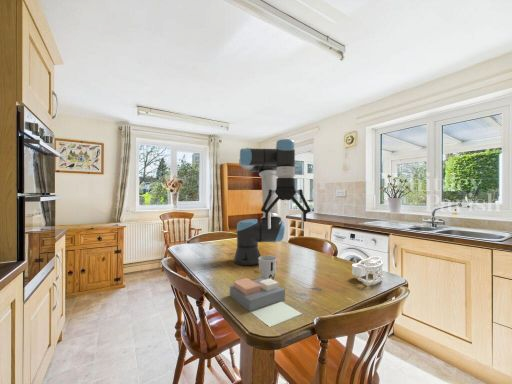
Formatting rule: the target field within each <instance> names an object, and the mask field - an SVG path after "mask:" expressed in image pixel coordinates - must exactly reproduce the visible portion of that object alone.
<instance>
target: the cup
mask: <svg viewBox="0 0 512 384" xmlns="http://www.w3.org/2000/svg"><path fill="white" fill-rule="evenodd" d="M258 259H259V263H258V269H259V270H258V271H259V275H260V278H264V279H265V280H266V279H269V278H270V279H272V280H274V281H275V277H276V272H277V271H276V270H277V260H278V259H277V257H276V256H274V255H260V257H259V258H258Z"/></svg>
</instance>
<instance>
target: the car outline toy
mask: <svg viewBox="0 0 512 384" xmlns="http://www.w3.org/2000/svg"><path fill="white" fill-rule="evenodd" d="M351 264H352V265H351V269H352V270H351V273H352V275H353V276H356V277H357V280H358V281H360V282H362V283H364V284H366V285H372V284H373V285H374V284H375V285H376V284H377V283H379V282H381V281H382V280H383V279H384V276H383V266H384V262H383V260H382V257H381V256H369V257H368V258H365V259H362V260H359V262H357V263H351ZM371 273H372V280H369V274H371ZM362 277H365V278H362Z"/></svg>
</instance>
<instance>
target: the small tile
mask: <svg viewBox="0 0 512 384" xmlns="http://www.w3.org/2000/svg"><path fill="white" fill-rule="evenodd" d="M259 285H260V287H261V288H263V289H265V290H266V291H270V290H273V289H276V288H278V286H279V281H276V280H275V279H274V280H272V279H270V278H269V279H266V280H262V281H259Z"/></svg>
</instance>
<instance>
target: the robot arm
mask: <svg viewBox="0 0 512 384" xmlns="http://www.w3.org/2000/svg"><path fill="white" fill-rule="evenodd" d="M295 150H296V146H295V141H294V140H293V139H291V138H282V139H279V140H276V146H275V148H249V147H246V148H240V150H239V160H238V162H239V166H240V167H241V169H242V170H245V171H247V172H250V173H251V172H252V173H258V175H259V177H260V178H261V192H262V193H261V194H262V196H261V197H262V206H261V209H260V211H261V212H262V214H263V215H262V217H261V218H260V221H259V220H258V219H257V218H248V219H243V220H239V221H238V222H237V223H236V251H235V253H234V256H233V263H235V265H236V264H237V265H240V266H254V265H259V259H258V258H259V257H260V256H261V254H260V250H259V246H258V243H277V242H278V243H280V242H282V241H283V240H284V236H285V231H286V229H285V228H286V225H285V221H284V220H282V218H281V216H280V215H279V209H278V208H279V207H278V201H280V200H281V201H291V200H292V202H293V203H294V204H295V205H296V206H297V208H299V210H300V211H301V214H300V215H301V217H300V219H301V222H300V223H301V226H300V227H301V228H300V229H301V231H303V230H304V223H305V222H306V221H307V214H308V213H311V211H312V210H311V207H310V206H309V204H308V202H307V200H306V198H305V196H304V194H303V193H304V192H303V189H301V188H300V189H296V187H295V186H296V179H295V177H296V166H295V165H296V164H295V159H296V158H295V157H296V151H295ZM296 193H297V196H298V195H299V196H300V199H301V200H302V202H303V205H304V206H305V208H304V207H303V206H302V204H301V203H300V202H299V201H298V199H297V198H296V197H295V194H296Z"/></svg>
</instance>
